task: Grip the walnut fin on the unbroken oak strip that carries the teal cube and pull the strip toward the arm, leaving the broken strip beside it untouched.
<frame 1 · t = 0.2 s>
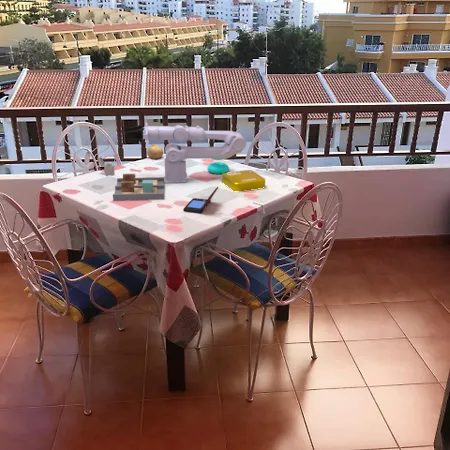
hand: (125, 132, 200), 21 cm above the table, tool horizontal, fingers open, 7 cm apart
broken strip front: (130, 179, 201), point 3 cm above the table, slide at 0.0 cm
lighter: (106, 174, 217), on the table
teal cube: (148, 190, 194), point 2 cm above the table, touching oak strip
element tile: (243, 186, 208), on the table
oak strip: (139, 187, 192), point 3 cm above the table, slide at 0.0 cm, touching teal cube
donuts: (218, 171, 224), on the table
handheld game console: (201, 208, 184), on the table
onion: (155, 158, 242), on the table
slate board: (140, 191, 198), on the table
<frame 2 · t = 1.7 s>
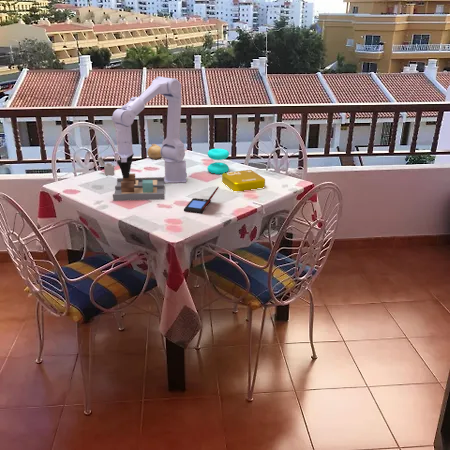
hand: (126, 174, 190), 9 cm above the table, tool pointing down, fingers open, 7 cm apart
nothing on the table moved.
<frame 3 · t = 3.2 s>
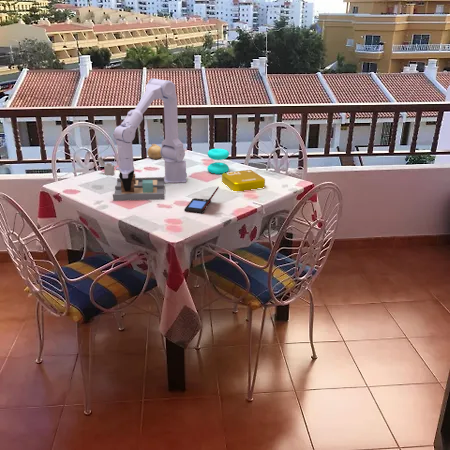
hand: (127, 189, 192), 3 cm above the table, tool pointing down, fingers closed on oak strip, 2 cm apart
oak strip: (139, 187, 192), point 3 cm above the table, slide at 0.0 cm, touching gripper, teal cube
everything else where it was.
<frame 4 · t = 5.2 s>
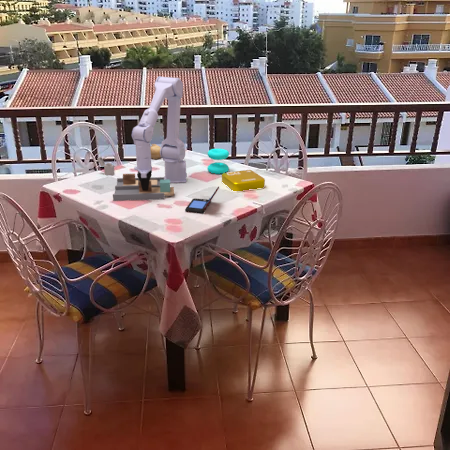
hand: (145, 189, 193), 3 cm above the table, tool pointing down, fingers closed on oak strip, 2 cm apart
teal cube: (165, 190, 194), point 2 cm above the table, touching oak strip
oak strip: (156, 186, 193), point 3 cm above the table, slide at 6.9 cm, touching gripper, teal cube
everything else where it was.
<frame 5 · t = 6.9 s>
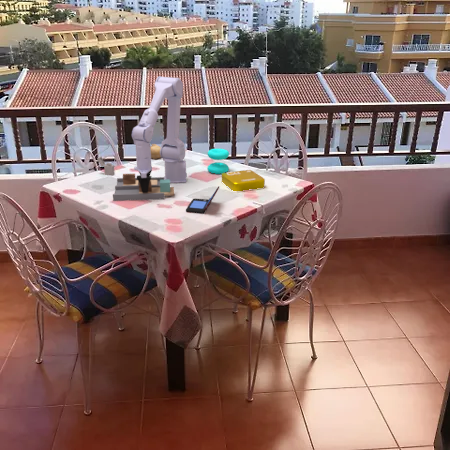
hand: (145, 189, 193), 3 cm above the table, tool pointing down, fingers open, 7 cm apart
oak strip: (156, 186, 193), point 3 cm above the table, slide at 6.9 cm, touching teal cube
everything else where it was.
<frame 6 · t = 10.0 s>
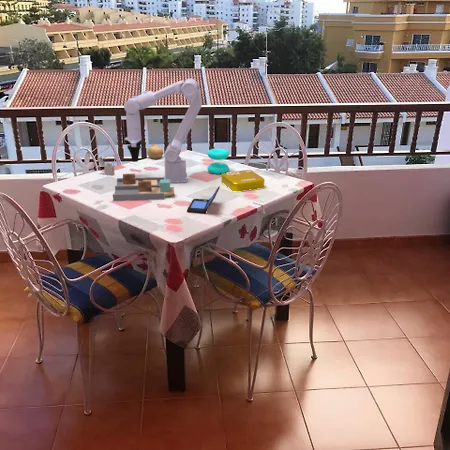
hand: (135, 158, 208), 9 cm above the table, tool pointing down, fingers open, 7 cm apart
at the end: oak strip slide at 6.9 cm; teal cube inside the target area (0.7 cm from its centre), point 1.8 cm above the table; broken strip front slide at 0.0 cm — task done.
